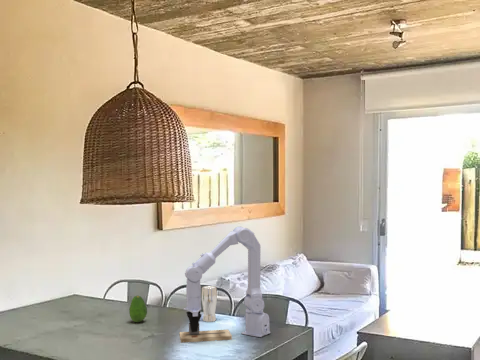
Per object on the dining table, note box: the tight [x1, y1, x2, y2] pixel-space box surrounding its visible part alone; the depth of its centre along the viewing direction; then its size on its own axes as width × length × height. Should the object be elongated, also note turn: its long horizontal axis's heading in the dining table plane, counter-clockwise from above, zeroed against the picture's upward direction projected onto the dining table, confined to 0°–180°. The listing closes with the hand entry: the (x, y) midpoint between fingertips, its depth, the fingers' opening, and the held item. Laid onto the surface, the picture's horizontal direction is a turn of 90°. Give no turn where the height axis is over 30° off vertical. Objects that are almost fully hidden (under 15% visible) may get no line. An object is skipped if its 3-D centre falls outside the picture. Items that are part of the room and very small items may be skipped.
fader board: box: [178, 329, 233, 344], centre depth 219 cm, size 20×10×2 cm, turn 100°
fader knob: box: [188, 322, 200, 335], centre depth 218 cm, size 4×2×4 cm, turn 100°
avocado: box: [128, 294, 148, 323], centre depth 246 cm, size 8×8×12 cm
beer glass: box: [201, 285, 218, 323], centre depth 248 cm, size 7×7×15 cm
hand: (193, 330), depth 218 cm, fingers closed on fader knob, 2 cm apart
